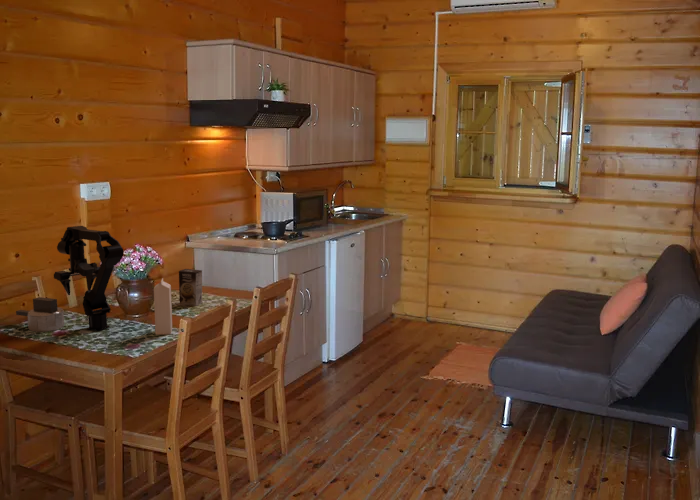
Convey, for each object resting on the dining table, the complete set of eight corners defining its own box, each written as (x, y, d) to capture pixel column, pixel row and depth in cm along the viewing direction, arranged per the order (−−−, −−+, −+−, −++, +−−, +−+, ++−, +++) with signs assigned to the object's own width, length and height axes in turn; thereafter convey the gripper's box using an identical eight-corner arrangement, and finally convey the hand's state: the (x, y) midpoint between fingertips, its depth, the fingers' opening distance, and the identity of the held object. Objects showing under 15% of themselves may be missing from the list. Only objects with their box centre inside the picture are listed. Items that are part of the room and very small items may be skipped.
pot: (70, 324, 282) (69, 310, 281) (47, 332, 270) (46, 318, 269) (31, 319, 288) (30, 305, 287) (6, 327, 276) (5, 313, 275)
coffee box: (178, 304, 316) (177, 270, 314) (186, 301, 322) (185, 268, 320) (196, 306, 314) (195, 272, 311) (203, 303, 320) (202, 269, 317)
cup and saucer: (70, 312, 281) (69, 296, 280) (46, 320, 269) (45, 304, 267) (45, 309, 285) (44, 294, 284) (20, 317, 273) (19, 301, 272)
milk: (172, 330, 276) (171, 277, 272) (170, 334, 270) (169, 280, 266) (156, 330, 275) (155, 277, 271) (155, 334, 269) (153, 280, 265)
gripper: (66, 261, 267) (69, 300, 270) (108, 255, 282) (110, 291, 284) (51, 258, 274) (54, 295, 276) (93, 252, 288) (95, 288, 291)
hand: (79, 292), depth 282 cm, fingers open, 9 cm apart
